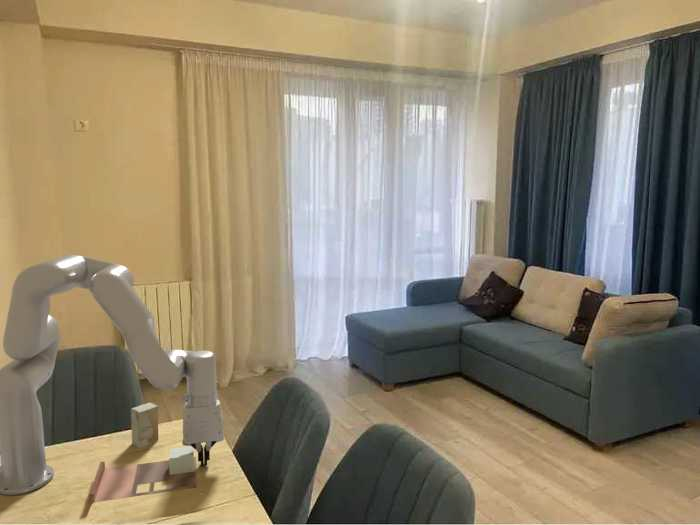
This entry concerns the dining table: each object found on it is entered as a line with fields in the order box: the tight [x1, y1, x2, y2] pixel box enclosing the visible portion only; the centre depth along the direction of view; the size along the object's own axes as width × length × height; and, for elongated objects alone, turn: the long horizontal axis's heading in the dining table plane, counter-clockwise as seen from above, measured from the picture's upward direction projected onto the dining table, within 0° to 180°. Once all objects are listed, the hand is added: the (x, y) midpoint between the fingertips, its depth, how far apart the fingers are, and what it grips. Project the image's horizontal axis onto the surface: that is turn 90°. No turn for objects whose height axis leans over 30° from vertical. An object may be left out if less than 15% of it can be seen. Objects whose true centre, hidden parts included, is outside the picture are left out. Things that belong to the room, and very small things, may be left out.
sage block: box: [168, 446, 195, 475], centre depth 137 cm, size 6×5×4 cm
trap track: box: [89, 456, 197, 509], centre depth 132 cm, size 24×15×4 cm, turn 107°
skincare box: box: [130, 402, 159, 449], centre depth 150 cm, size 6×4×12 cm
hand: (204, 462), depth 139 cm, fingers closed
